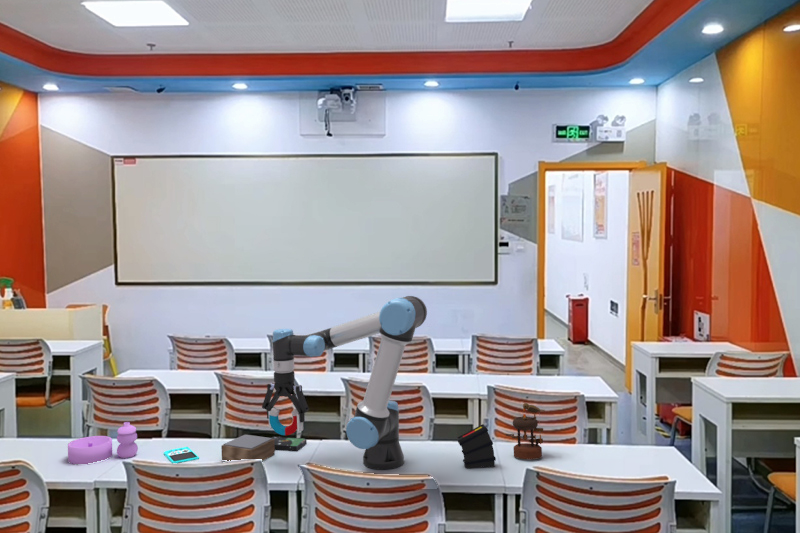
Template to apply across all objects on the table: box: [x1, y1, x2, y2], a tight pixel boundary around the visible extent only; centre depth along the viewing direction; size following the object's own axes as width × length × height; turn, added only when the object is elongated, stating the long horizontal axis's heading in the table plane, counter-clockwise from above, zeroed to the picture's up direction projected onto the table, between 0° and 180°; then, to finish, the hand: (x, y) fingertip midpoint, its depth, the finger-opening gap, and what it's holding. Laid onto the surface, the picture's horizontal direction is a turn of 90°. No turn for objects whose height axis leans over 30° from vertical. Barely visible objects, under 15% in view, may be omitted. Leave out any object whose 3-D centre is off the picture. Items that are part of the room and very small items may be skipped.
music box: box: [505, 402, 546, 460], centre depth 238 cm, size 15×11×20 cm
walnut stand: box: [221, 434, 276, 461], centre depth 241 cm, size 14×14×6 cm
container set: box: [67, 421, 139, 465], centre depth 244 cm, size 25×15×13 cm, turn 97°
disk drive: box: [271, 436, 308, 453], centre depth 254 cm, size 10×3×15 cm
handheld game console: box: [163, 446, 200, 464], centre depth 244 cm, size 10×16×1 cm, turn 34°
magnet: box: [268, 406, 298, 436], centre depth 233 cm, size 12×3×10 cm, turn 84°
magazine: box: [457, 423, 497, 469], centre depth 228 cm, size 4×13×15 cm, turn 96°
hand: (286, 429), depth 233 cm, fingers closed on magnet, 12 cm apart
